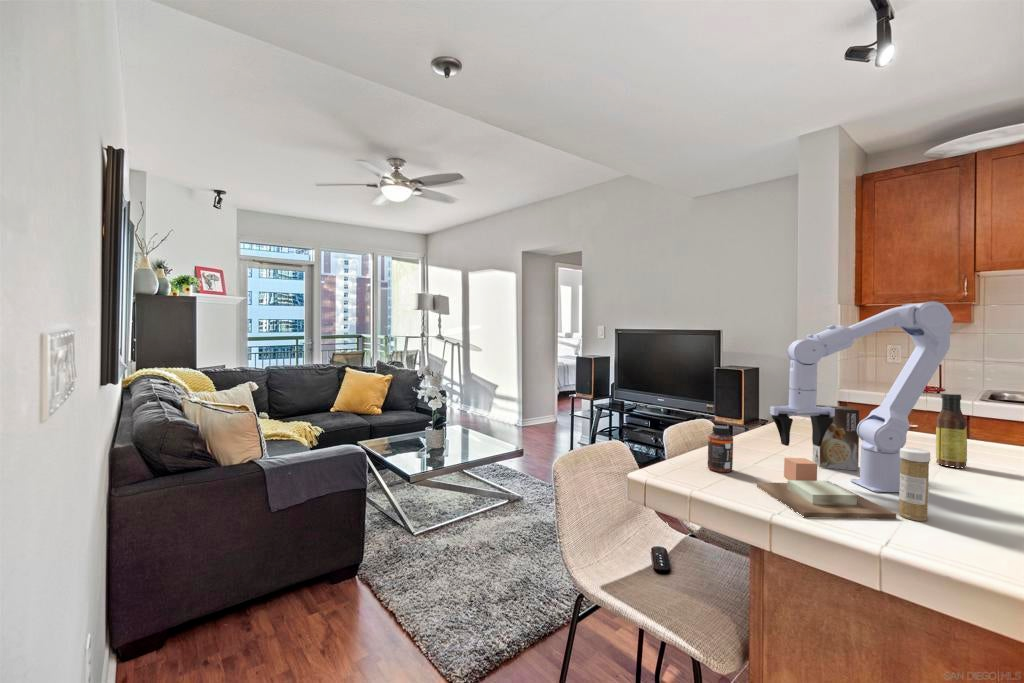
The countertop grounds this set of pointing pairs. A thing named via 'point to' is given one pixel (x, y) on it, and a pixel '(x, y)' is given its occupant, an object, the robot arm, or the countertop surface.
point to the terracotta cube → (800, 469)
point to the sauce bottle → (951, 432)
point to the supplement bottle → (720, 449)
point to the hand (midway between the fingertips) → (800, 445)
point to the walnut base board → (826, 509)
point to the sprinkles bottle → (914, 483)
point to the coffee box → (839, 441)
